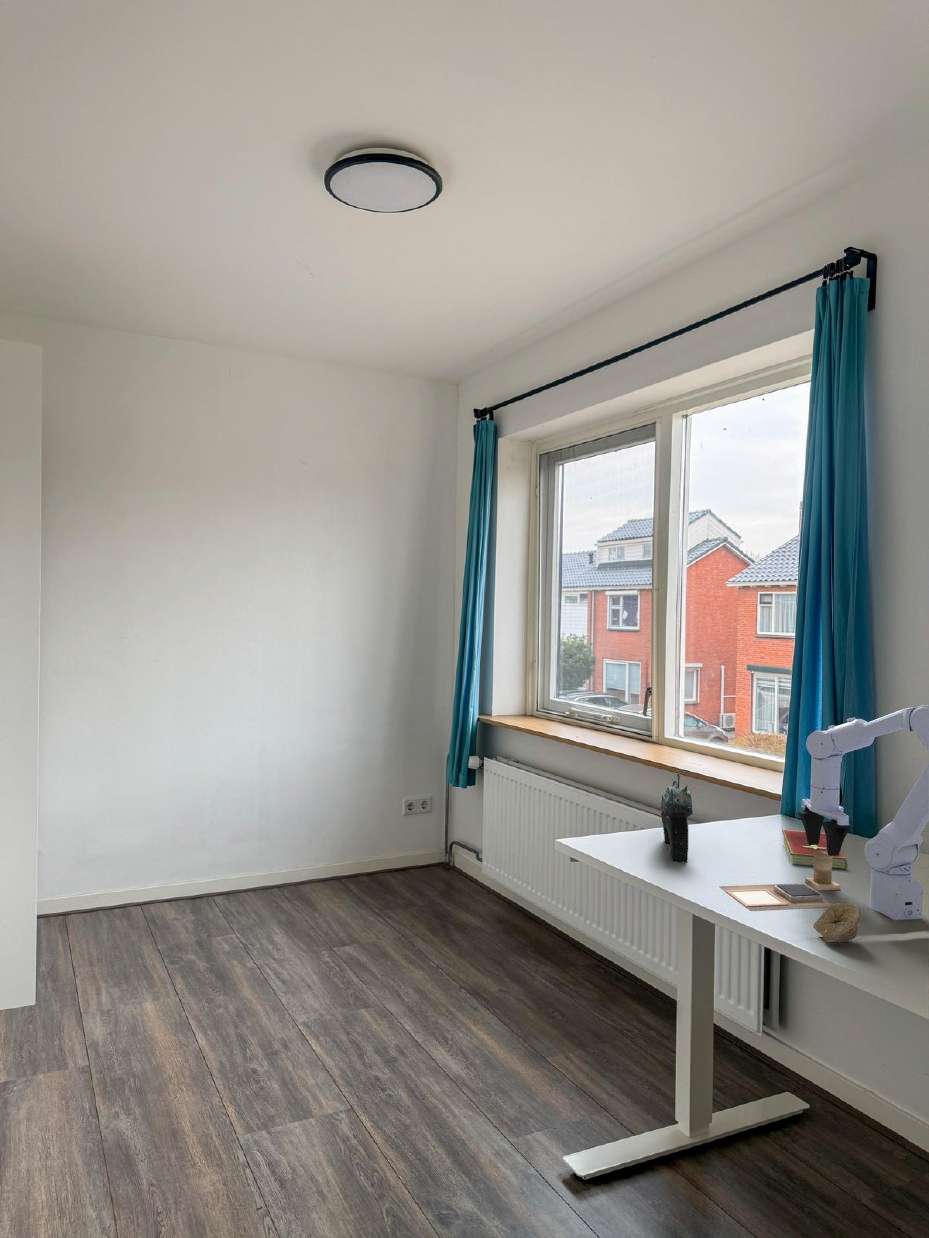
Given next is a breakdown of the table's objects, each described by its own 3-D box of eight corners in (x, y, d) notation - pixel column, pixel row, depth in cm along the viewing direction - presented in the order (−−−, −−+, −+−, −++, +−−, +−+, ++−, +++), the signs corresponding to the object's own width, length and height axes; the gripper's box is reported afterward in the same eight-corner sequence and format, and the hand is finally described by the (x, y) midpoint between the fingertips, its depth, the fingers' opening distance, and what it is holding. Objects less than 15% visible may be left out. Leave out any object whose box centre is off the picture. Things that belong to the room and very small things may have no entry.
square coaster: (788, 905, 172) (788, 904, 172) (745, 906, 170) (745, 905, 170) (765, 889, 181) (765, 888, 181) (725, 891, 179) (725, 890, 179)
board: (835, 911, 171) (835, 906, 171) (750, 915, 168) (750, 910, 168) (797, 887, 185) (797, 883, 185) (718, 891, 182) (718, 886, 182)
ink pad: (823, 900, 175) (823, 894, 175) (791, 902, 174) (791, 896, 173) (804, 888, 182) (804, 883, 181) (773, 890, 180) (773, 884, 180)
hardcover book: (832, 849, 216) (832, 832, 216) (846, 875, 196) (847, 857, 195) (781, 844, 219) (782, 828, 219) (790, 870, 199) (791, 852, 198)
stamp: (839, 894, 182) (840, 856, 181) (817, 895, 181) (818, 857, 181) (826, 886, 187) (827, 849, 186) (804, 887, 186) (805, 850, 186)
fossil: (831, 896, 163) (867, 904, 154) (846, 913, 163) (883, 921, 154) (803, 932, 161) (838, 942, 151) (819, 949, 161) (854, 960, 151)
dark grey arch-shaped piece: (693, 864, 200) (695, 779, 199) (664, 863, 201) (666, 778, 200) (681, 840, 220) (683, 762, 219) (655, 839, 220) (657, 761, 220)
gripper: (863, 794, 177) (860, 859, 177) (823, 778, 191) (821, 839, 191) (831, 794, 175) (829, 860, 176) (793, 779, 190) (791, 840, 190)
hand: (823, 849), depth 184 cm, fingers open, 7 cm apart
